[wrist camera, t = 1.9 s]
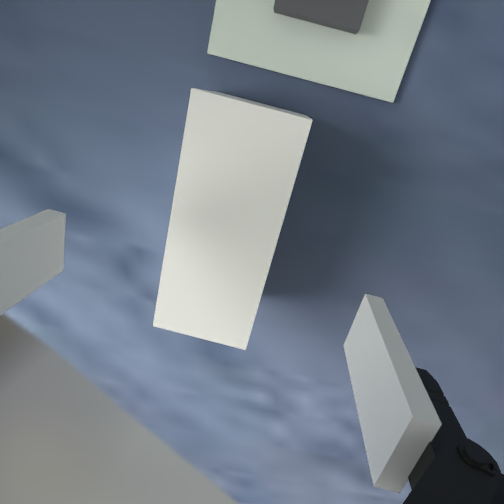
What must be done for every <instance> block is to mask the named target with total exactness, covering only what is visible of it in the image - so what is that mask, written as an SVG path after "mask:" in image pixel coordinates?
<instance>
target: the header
mask: <svg viewBox="0 0 504 504" xmlns="http://www.w3.org/2000/svg"><path fill="white" fill-rule="evenodd" d="M430 1H431V0H216V5H215V10H214V16H213V22H212V28H211V34H210V39H209V45H208V51H207V53H208V54H210V55H214V56H218V57H222V58H225V59H229V60H233V61H237V62H240V63H244V64H248V65H252V66H255V67H259V68H263V69H267V70H270V71H274V72H278V73H282V74H285V75H289V76H293V77H297V78H300V79H304V80H308V81H312V82H316V83H319V84H323V85H327V86H331V87H334V88H338V89H342V90H346V91H349V92H353V93H357V94H361V95H364V96H368V97H372V98H376V99H379V100H383V101H387V102H391V103H393V102H394V99H395V96H396V93H397V91H398V88H399V85H400V83H401V80H402V77H403V74H404V72H405V69H406V66H407V64H408V61H409V58H410V55H411V53H412V50H413V47H414V45H415V42H416V39H417V36H418V34H419V31H420V28H421V26H422V23H423V20H424V17H425V15H426V12H427V9H428V7H429V4H430Z"/></svg>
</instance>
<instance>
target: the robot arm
mask: <svg viewBox="0 0 504 504" xmlns="http://www.w3.org/2000/svg"><path fill="white" fill-rule="evenodd" d="M65 219H66V213H62V212H58V211H54V210H51V209H47V210H44V211H42V212H40V213H37V214H35V215H33V216H30V217H28V218H25V219H23V220H21V221H18V222H16V223H14V224H11V225H9V226H7V227H4V228H2V229H0V315H2V314H3V313H4V312H6V311H7V310H9V309H10V308H11V307H13V306H14V305H16V304H17V303H18V302H20V301H21V300H22V299H24V298H25V297H27V296H28V295H29V294H31V293H32V292H34V291H35V290H36V289H38V288H39V287H41V286H42V285H43V284H45V283H46V282H48V281H49V280H50V279H52V278H53V277H55V276H56V275H57V274H59V273H60V272H62V271H63V262H64V240H65ZM344 350H345V355H346V359H347V364H348V369H349V374H350V378H351V383H352V388H353V392H354V397H355V402H356V406H357V411H358V416H359V420H360V425H361V430H362V434H363V439H364V444H365V448H366V453H367V458H368V462H369V467H370V472H371V476H372V481H373V486H374V487H378V488H381V489H385V490H389V491H392V492H396V493H400V492H401V491H402V489H403V487H404V486H405V484H406V482H407V481H408V479H409V483H410V486H411V489H412V491H411V493H410V494H409V495H408V497H407V498H406V500H405V501H404V503H403V504H504V475H503V474H502V473H501V471H500V469H499V466H498V464H497V462H496V461H495V460H494V459H493V457H492V456H491V455H490V454H489V453H488V452H487V451H486V450H485V449H484V448H482V447H481V446H480V445H478V444H477V443H475V442H473V441H472V440H470V439H467V437H466V436H465V434H464V432H463V430H462V428H461V426H460V424H459V422H458V420H457V418H456V416H455V415H454V413H453V411H452V409H451V407H450V406H449V403H448V401H447V399H446V397H445V396H443V395H444V394H443V392H442V390H441V388H440V386H439V384H438V382H437V381H436V380H435V379H434V378H433V377H432V376H431V375H430V374H429V373H428V372H427V371H426V370H424V369H420V368H416V367H415V366H414V364H413V362H412V359H411V357H410V355H409V353H408V351H407V349H406V347H405V345H404V342H403V340H402V338H401V336H400V334H399V332H398V330H397V328H396V325H395V323H394V321H393V319H392V317H391V315H390V313H389V311H388V308H387V306H386V304H385V302H384V300H383V298H380V297H376V296H373V295H369V294H365V295H364V298H363V300H362V302H361V305H360V307H359V310H358V312H357V314H356V317H355V319H354V322H353V324H352V326H351V329H350V331H349V334H348V336H347V338H346V341H345V343H344Z"/></svg>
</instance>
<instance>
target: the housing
mask: <svg viewBox="0 0 504 504" xmlns="http://www.w3.org/2000/svg"><path fill="white" fill-rule="evenodd" d="M312 121H313V120H312V119H311V118H309V117H308V116H307V115H304V114H300V113H296V112H292V111H289V110H285V109H281V108H277V107H274V106H270V105H266V104H262V103H258V102H255V101H251V100H247V99H243V98H240V97H236V96H232V95H228V94H225V93H221V92H217V91H210V90H203V89H196V88H191V94H190V100H189V106H188V112H187V118H186V125H185V131H184V137H183V143H182V149H181V156H180V162H179V168H178V174H177V180H176V186H175V193H174V199H173V205H172V211H171V217H170V223H169V230H168V236H167V242H166V248H165V254H164V260H163V267H162V273H161V279H160V285H159V291H158V297H157V304H156V310H155V316H154V322H153V326H155V327H159V328H163V329H167V330H171V331H174V332H178V333H182V334H186V335H190V336H194V337H198V338H201V339H205V340H209V341H213V342H217V343H221V344H225V345H228V346H232V347H236V348H240V349H244V350H246V347H247V344H248V340H249V337H250V333H251V330H252V326H253V323H254V320H255V316H256V313H257V309H258V306H259V302H260V299H261V296H262V292H263V289H264V285H265V282H266V278H267V275H268V272H269V268H270V265H271V261H272V258H273V254H274V251H275V248H276V244H277V241H278V237H279V234H280V231H281V227H282V224H283V220H284V217H285V213H286V210H287V207H288V203H289V200H290V196H291V193H292V189H293V186H294V183H295V179H296V176H297V172H298V169H299V165H300V162H301V159H302V155H303V152H304V148H305V145H306V141H307V138H308V135H309V131H310V128H311V124H312Z"/></svg>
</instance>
